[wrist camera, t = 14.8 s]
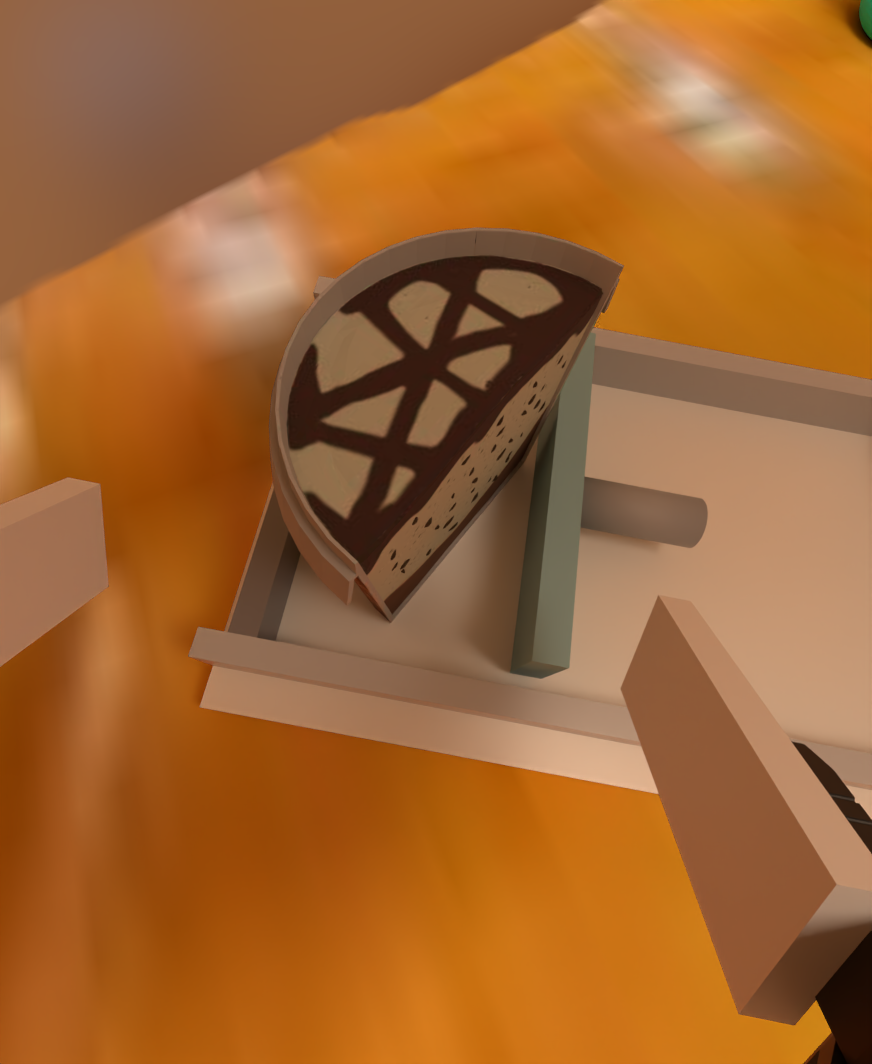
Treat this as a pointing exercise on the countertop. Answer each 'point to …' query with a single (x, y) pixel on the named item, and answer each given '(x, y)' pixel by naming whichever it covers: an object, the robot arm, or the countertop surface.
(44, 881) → the countertop surface
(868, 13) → the donuts
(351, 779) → the countertop surface
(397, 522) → the food container
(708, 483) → the pusher lane
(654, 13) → the countertop surface
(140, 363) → the countertop surface
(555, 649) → the pusher paddle
